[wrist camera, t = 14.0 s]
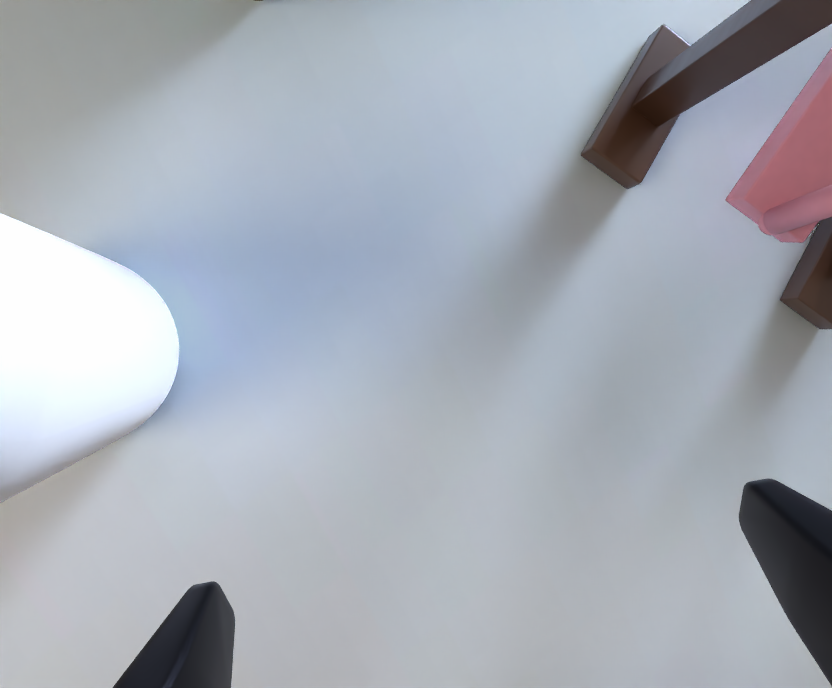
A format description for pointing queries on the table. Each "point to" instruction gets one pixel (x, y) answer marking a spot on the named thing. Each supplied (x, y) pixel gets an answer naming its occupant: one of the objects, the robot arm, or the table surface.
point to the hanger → (793, 166)
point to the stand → (692, 83)
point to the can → (73, 354)
